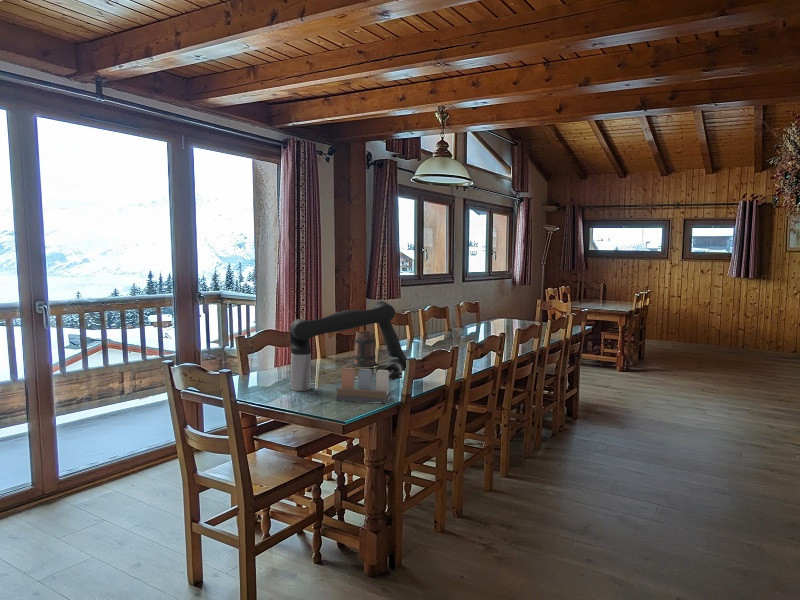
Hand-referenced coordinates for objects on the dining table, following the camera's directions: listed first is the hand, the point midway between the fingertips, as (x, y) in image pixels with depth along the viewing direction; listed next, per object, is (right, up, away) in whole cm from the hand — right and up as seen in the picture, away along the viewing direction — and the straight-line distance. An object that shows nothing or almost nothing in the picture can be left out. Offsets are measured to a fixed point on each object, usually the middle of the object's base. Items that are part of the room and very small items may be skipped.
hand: (385, 378), depth 251 cm
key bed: (-10, -8, -7) cm, 14 cm away
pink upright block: (-17, -6, -3) cm, 18 cm away
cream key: (-1, -6, -6) cm, 9 cm away
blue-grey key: (-9, -6, -5) cm, 12 cm away
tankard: (-14, -3, +64) cm, 66 cm away
